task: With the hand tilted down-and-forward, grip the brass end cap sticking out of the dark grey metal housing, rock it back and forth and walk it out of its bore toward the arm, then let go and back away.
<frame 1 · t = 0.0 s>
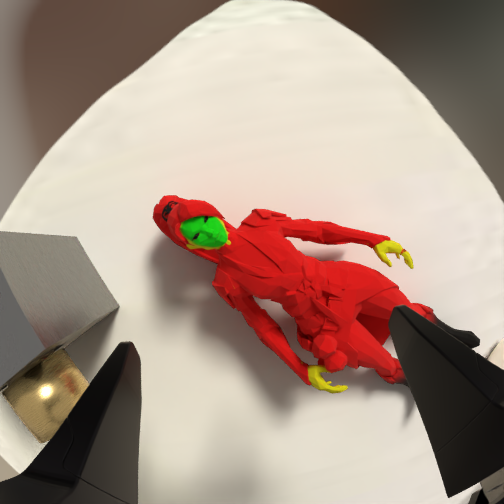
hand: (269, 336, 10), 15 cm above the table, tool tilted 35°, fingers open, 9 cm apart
housing: (55, 305, 23), on the table
figurine: (327, 300, 26), on the table
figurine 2: (492, 359, 28), on the table
gold cylindrical piece: (31, 370, 15), point 8 cm above the table, slide at 0.0 cm
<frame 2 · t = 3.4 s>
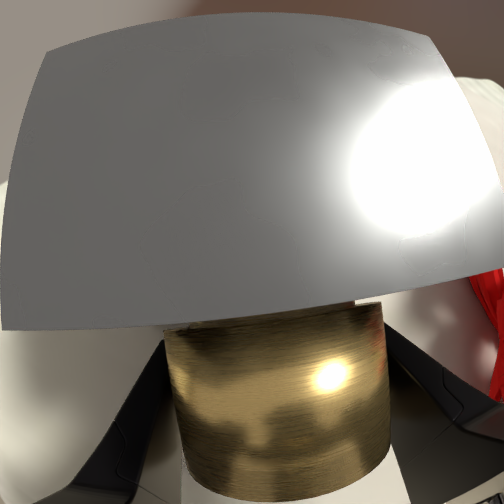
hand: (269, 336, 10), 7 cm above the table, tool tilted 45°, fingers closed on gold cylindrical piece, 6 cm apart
housing: (244, 248, 17), on the table
gold cylindrical piece: (272, 318, 9), point 8 cm above the table, slide at 0.0 cm, touching gripper
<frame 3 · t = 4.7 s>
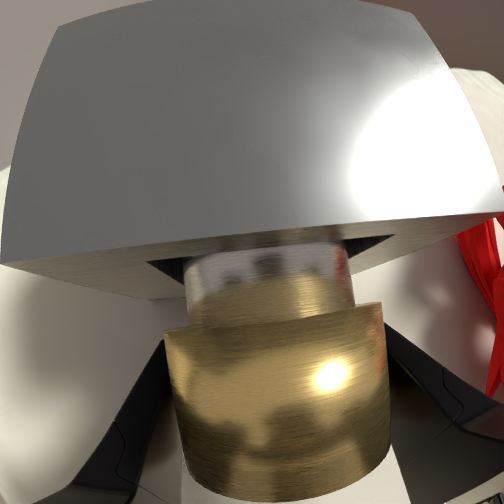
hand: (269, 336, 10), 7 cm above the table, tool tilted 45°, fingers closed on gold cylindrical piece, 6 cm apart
housing: (242, 226, 17), on the table
gold cylindrical piece: (272, 318, 9), point 8 cm above the table, slide at 1.3 cm, touching gripper
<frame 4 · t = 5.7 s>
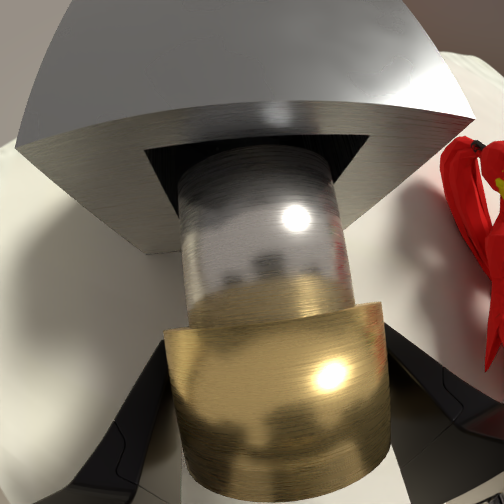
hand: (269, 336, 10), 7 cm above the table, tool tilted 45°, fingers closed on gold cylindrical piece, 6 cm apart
housing: (237, 185, 18), on the table
gold cylindrical piece: (272, 318, 9), point 8 cm above the table, slide at 3.8 cm, touching gripper
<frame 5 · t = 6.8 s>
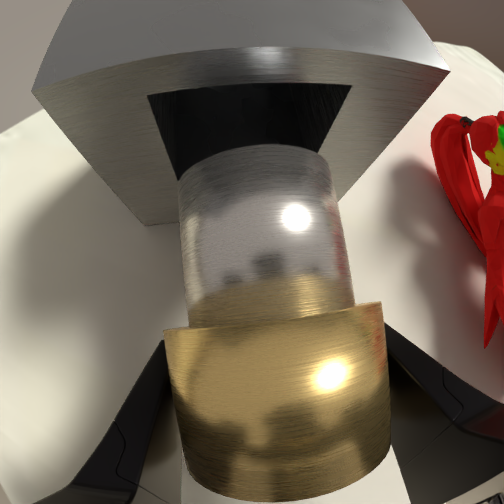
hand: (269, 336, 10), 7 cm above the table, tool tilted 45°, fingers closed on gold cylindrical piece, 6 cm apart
housing: (234, 160, 18), on the table
gold cylindrical piece: (272, 318, 9), point 8 cm above the table, slide at 5.5 cm, touching gripper
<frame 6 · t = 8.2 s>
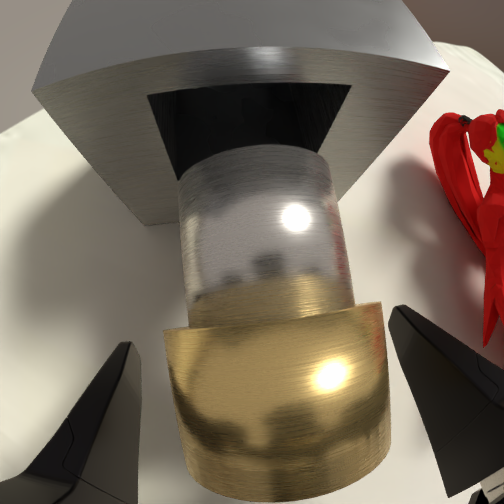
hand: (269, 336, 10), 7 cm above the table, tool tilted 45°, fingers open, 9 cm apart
housing: (234, 159, 18), on the table
gold cylindrical piece: (272, 318, 9), point 8 cm above the table, slide at 5.5 cm
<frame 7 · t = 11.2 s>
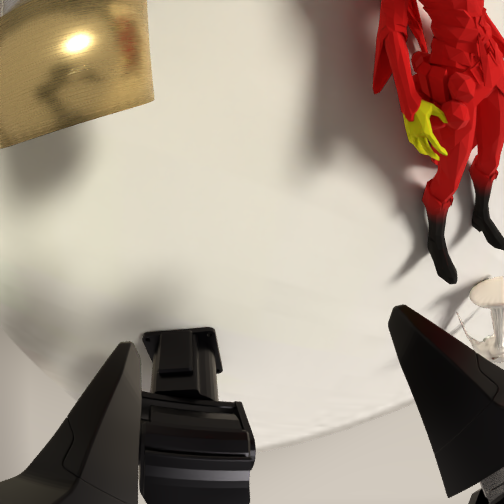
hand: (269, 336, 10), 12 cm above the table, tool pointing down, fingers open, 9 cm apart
figurine: (425, 81, 17), on the table
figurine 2: (476, 289, 30), on the table
gold cylindrical piece: (62, 16, 6), point 8 cm above the table, slide at 5.5 cm
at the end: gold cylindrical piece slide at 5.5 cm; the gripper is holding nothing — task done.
